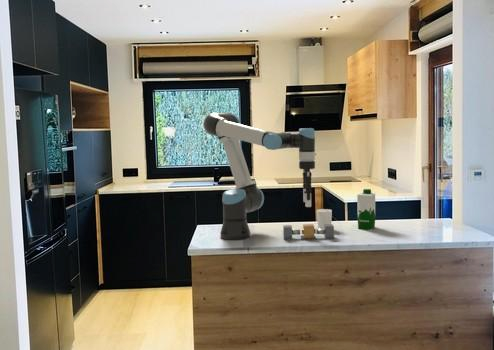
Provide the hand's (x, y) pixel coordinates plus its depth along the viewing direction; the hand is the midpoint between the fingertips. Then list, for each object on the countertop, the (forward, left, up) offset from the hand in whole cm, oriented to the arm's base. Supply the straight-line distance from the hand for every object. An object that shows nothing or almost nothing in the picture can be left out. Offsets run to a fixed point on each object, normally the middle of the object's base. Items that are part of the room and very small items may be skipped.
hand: (307, 204), depth 233 cm
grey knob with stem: (+8, 0, -17) cm, 19 cm away
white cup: (+10, +19, -17) cm, 27 cm away
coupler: (0, 0, -16) cm, 16 cm away
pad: (0, 0, -17) cm, 17 cm away
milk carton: (+32, +20, -17) cm, 41 cm away
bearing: (-8, 0, -16) cm, 18 cm away
